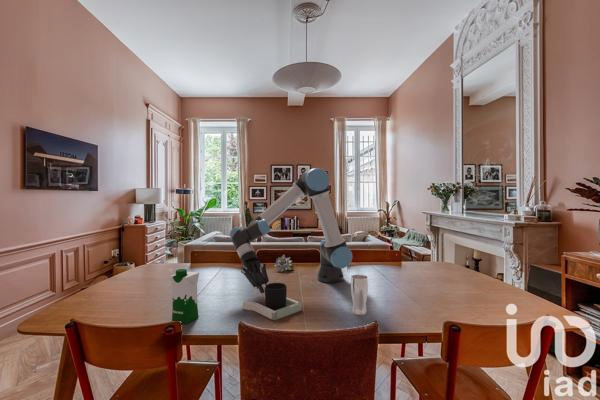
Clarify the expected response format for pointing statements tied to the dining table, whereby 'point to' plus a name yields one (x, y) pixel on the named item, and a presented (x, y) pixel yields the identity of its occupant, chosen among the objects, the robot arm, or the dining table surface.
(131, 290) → the dining table surface
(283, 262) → the grey spiky ball
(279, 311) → the bay
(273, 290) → the pen holder
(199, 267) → the dining table surface
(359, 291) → the beer glass
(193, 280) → the milk carton
